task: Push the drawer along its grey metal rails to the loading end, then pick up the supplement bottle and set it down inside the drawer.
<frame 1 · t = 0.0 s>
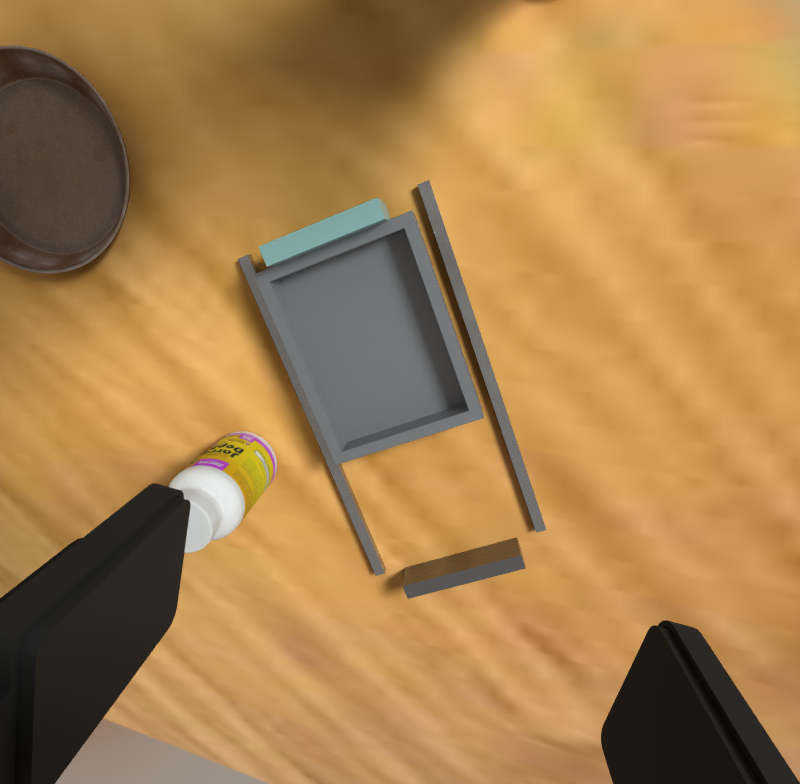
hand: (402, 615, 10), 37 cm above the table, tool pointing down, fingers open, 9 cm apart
plant saucer: (56, 171, 45), on the table
drawer: (369, 336, 43), point 3 cm above the table, slide at 0.0 cm
rails: (400, 398, 48), on the table
supplement bottle: (247, 459, 51), on the table
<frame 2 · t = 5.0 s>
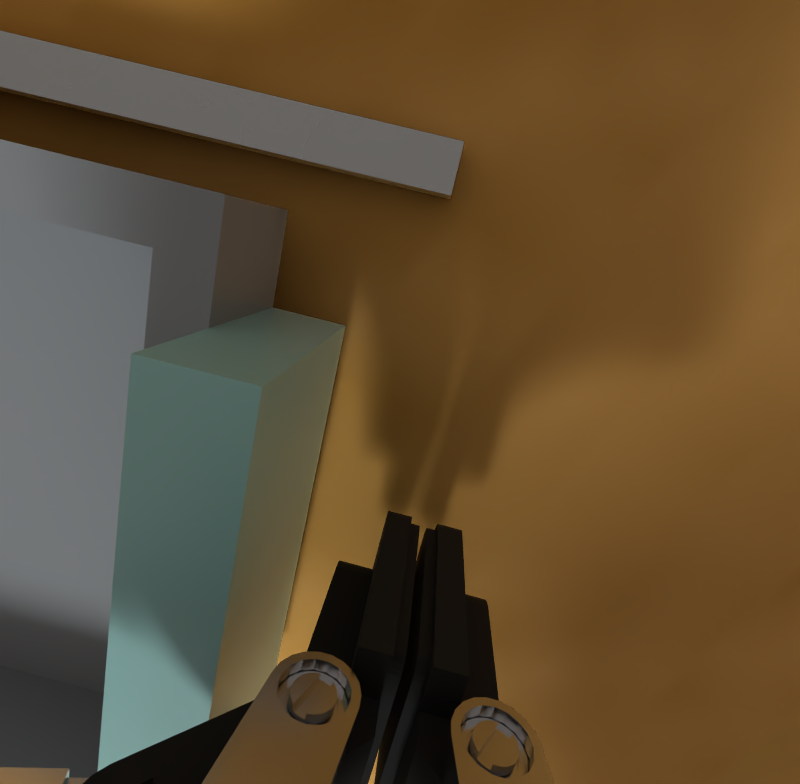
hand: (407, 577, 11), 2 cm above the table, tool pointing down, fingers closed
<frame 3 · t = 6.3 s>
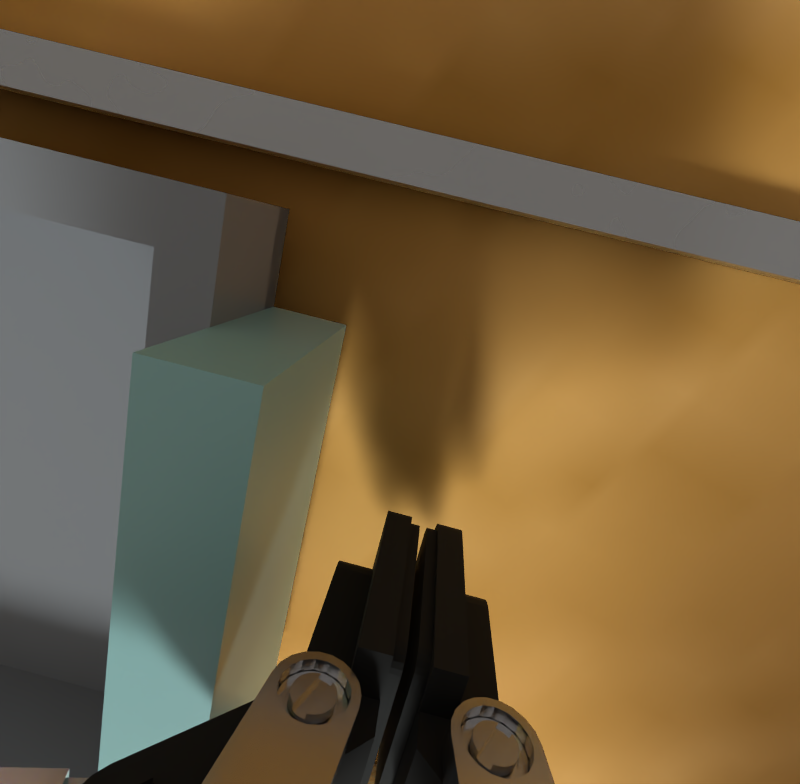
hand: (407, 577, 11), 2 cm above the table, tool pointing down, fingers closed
rails: (21, 430, 13), on the table
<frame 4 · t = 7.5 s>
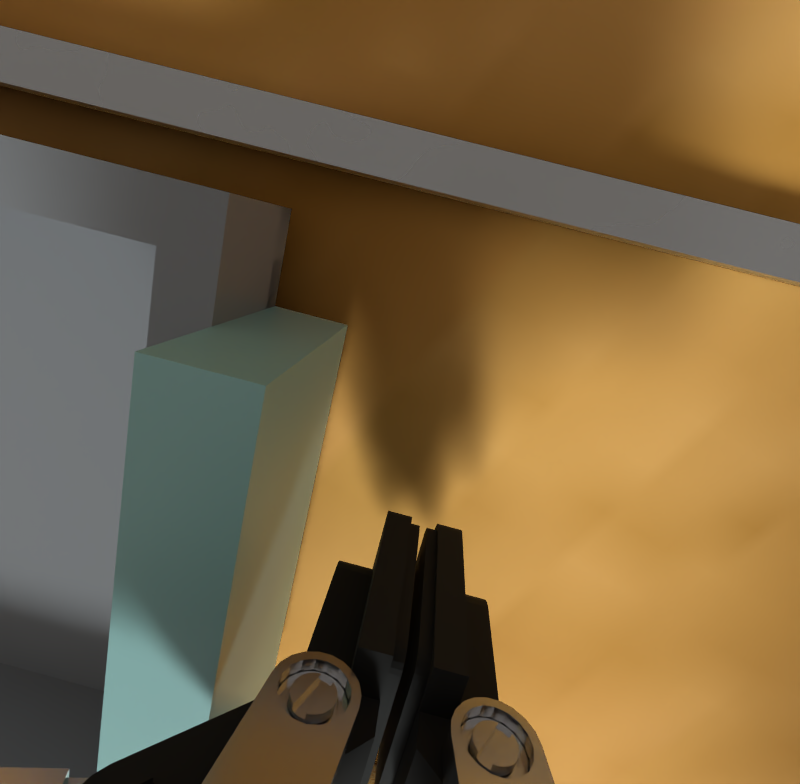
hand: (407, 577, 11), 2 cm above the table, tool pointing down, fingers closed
rails: (170, 467, 13), on the table
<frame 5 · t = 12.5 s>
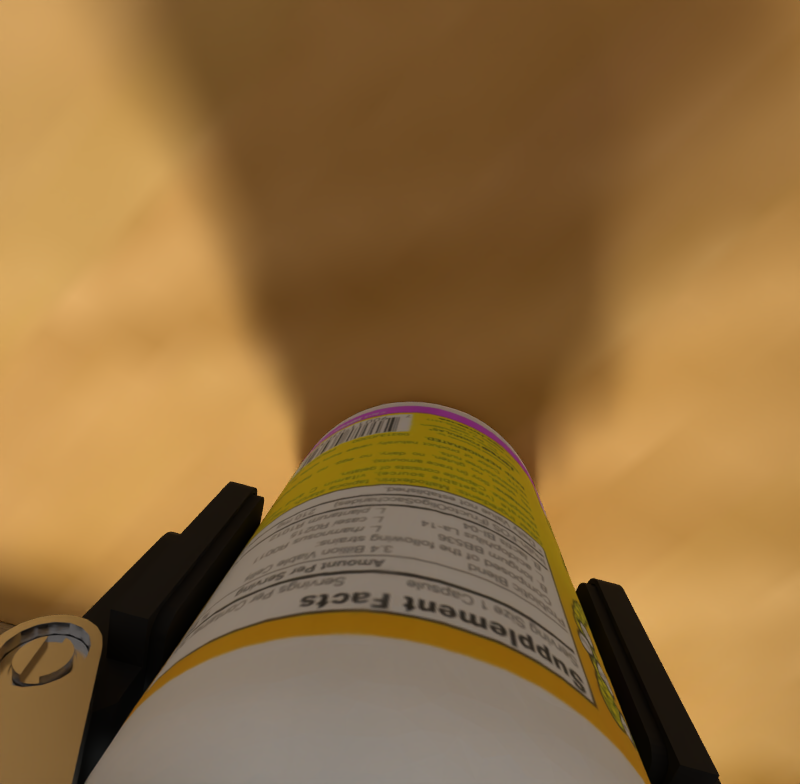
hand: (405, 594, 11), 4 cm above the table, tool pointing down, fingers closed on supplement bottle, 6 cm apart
supplement bottle: (416, 503, 14), on the table, touching gripper
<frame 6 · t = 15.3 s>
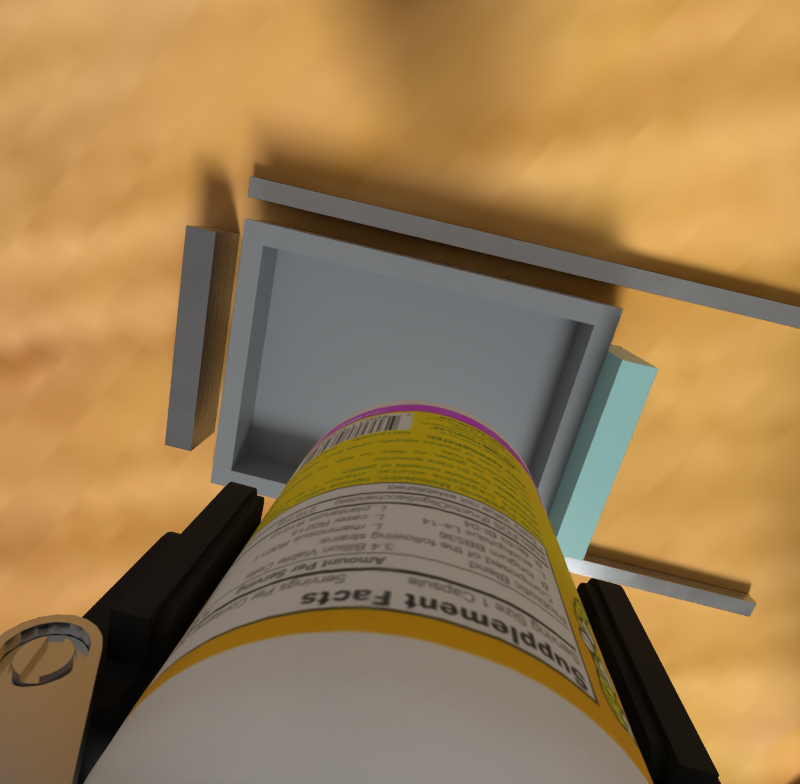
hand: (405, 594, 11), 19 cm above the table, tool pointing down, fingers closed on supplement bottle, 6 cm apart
drawer: (415, 401, 26), point 3 cm above the table, slide at 12.7 cm
rails: (518, 410, 29), on the table
supplement bottle: (416, 502, 14), point 15 cm above the table, touching gripper
when the fingers open (6 cm above the table, at t = 18.4 s): supplement bottle drops 1 cm, resting on drawer.
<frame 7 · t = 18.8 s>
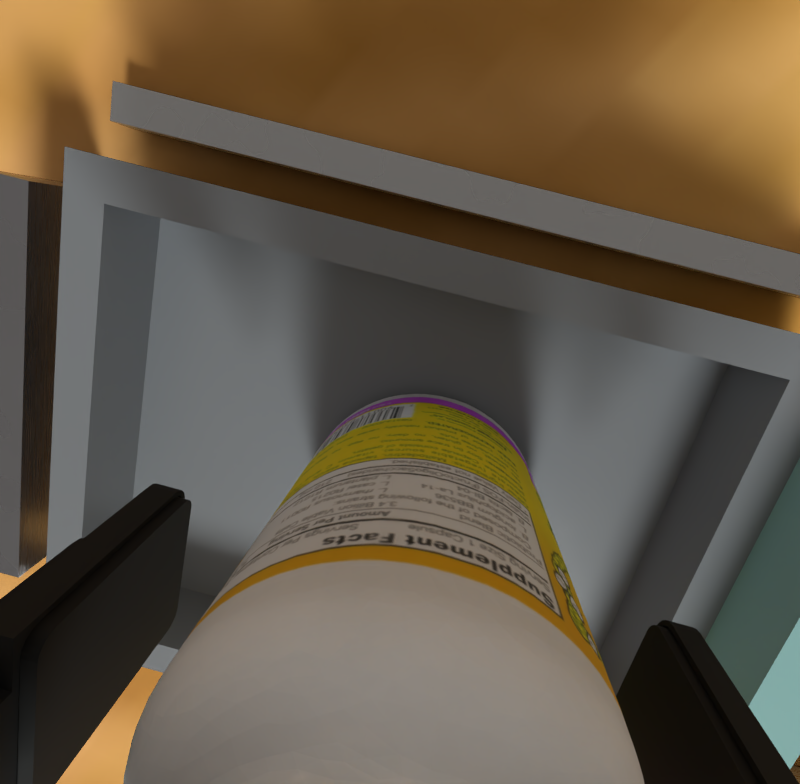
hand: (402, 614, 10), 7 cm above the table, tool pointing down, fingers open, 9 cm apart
drawer: (414, 508, 14), point 3 cm above the table, slide at 12.8 cm, touching supplement bottle
rails: (595, 509, 17), on the table
supplement bottle: (422, 488, 16), point 1 cm above the table, touching drawer
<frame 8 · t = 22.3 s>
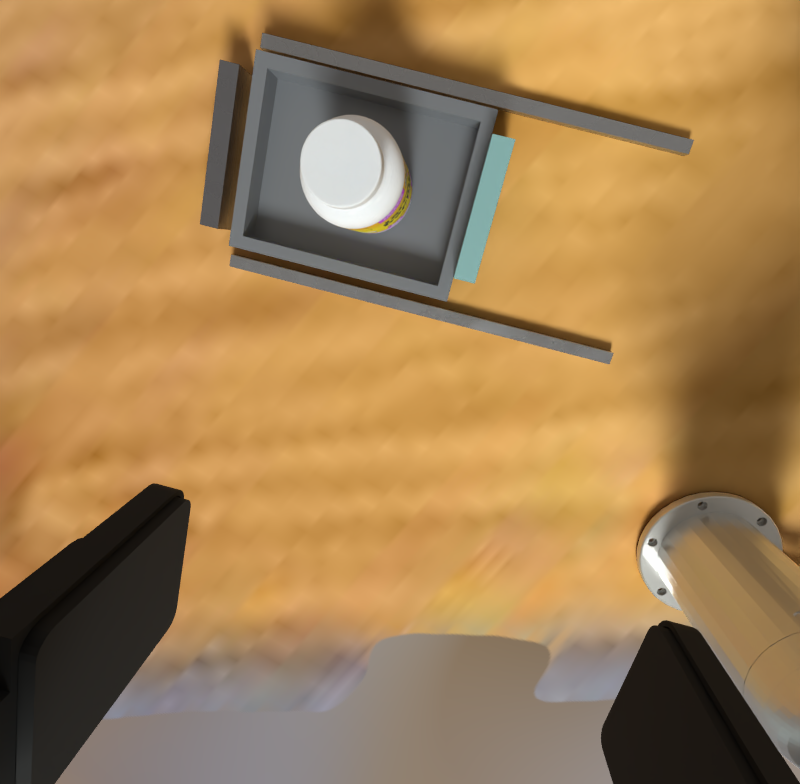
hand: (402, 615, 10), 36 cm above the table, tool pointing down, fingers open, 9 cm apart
drawer: (367, 185, 39), point 3 cm above the table, slide at 13.0 cm, touching supplement bottle
rails: (445, 208, 42), on the table
supplement bottle: (372, 190, 41), point 1 cm above the table, touching drawer
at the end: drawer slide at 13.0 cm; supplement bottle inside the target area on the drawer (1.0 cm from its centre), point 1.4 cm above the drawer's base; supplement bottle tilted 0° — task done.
